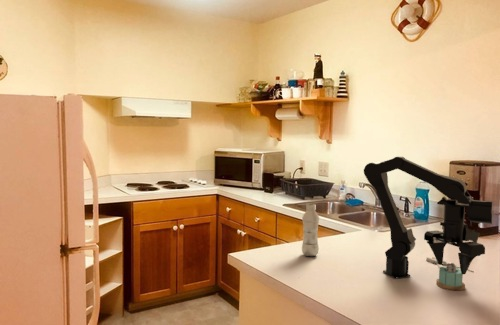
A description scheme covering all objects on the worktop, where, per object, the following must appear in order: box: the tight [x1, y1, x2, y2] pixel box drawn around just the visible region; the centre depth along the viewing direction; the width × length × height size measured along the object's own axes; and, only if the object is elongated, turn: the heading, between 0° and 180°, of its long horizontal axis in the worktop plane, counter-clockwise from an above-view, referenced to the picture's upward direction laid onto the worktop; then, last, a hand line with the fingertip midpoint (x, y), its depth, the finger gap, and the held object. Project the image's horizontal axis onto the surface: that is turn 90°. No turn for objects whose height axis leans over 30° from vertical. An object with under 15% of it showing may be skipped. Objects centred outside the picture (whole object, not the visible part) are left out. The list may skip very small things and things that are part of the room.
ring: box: [438, 266, 464, 287], centre depth 123 cm, size 6×6×4 cm
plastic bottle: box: [301, 203, 320, 257], centre depth 152 cm, size 6×7×20 cm
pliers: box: [425, 256, 474, 273], centre depth 141 cm, size 10×2×15 cm
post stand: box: [435, 262, 466, 292], centre depth 123 cm, size 8×8×7 cm
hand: (451, 269), depth 123 cm, fingers open, 9 cm apart
